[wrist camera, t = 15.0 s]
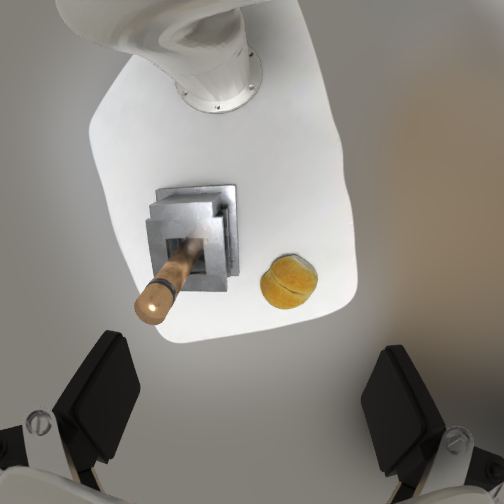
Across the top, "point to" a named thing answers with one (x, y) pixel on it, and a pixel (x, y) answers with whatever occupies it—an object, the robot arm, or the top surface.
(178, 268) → the brown rod
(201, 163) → the top surface
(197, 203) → the collar stand
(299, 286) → the bread roll
